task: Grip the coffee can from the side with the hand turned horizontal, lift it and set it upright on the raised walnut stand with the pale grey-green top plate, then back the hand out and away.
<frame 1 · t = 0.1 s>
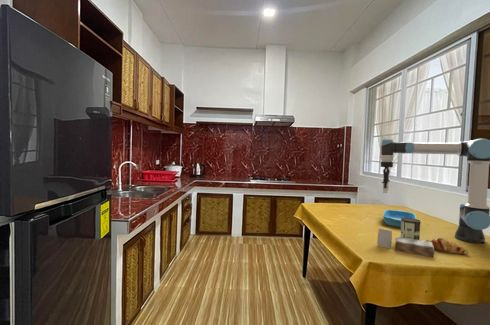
hand: (385, 191, 185), 28 cm above the table, tool pointing down, fingers open, 13 cm apart
croissant: (444, 251, 152), on the table
casserole dish: (398, 223, 211), on the table
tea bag: (384, 246, 156), on the table
coffee can: (409, 242, 165), on the table
stand: (413, 250, 150), on the table
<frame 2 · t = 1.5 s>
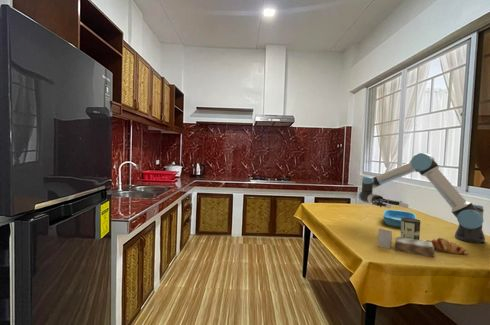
hand: (399, 206, 173), 20 cm above the table, tool horizontal, fingers open, 13 cm apart
nothing on the table moved.
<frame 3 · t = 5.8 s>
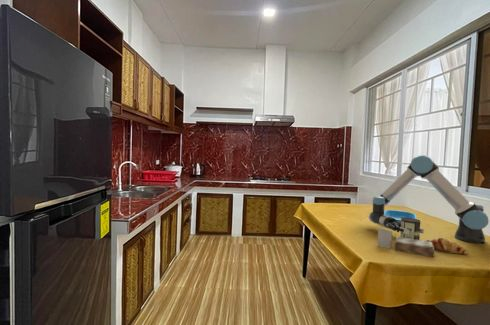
hand: (416, 231, 160), 8 cm above the table, tool horizontal, fingers closed on coffee can, 10 cm apart
coffee can: (409, 242, 165), on the table, touching gripper
everything else where it was.
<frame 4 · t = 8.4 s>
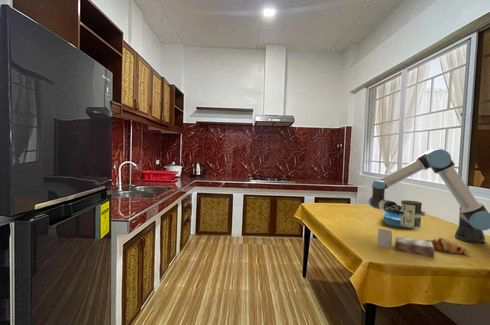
hand: (417, 214, 152), 20 cm above the table, tool horizontal, fingers closed on coffee can, 10 cm apart
coffee can: (410, 225, 156), point 12 cm above the table, touching gripper
everything else where it was.
when the fingers open (14 cm above the table, at t = 10.8 s): coffee can drops 1 cm, resting on stand.
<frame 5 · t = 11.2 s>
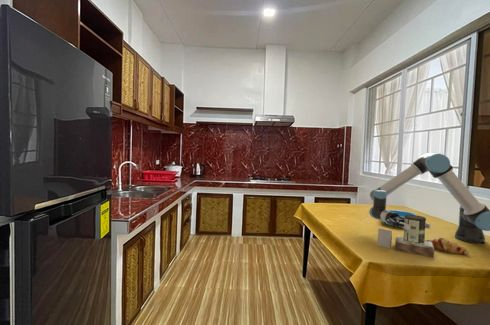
hand: (419, 227, 146), 14 cm above the table, tool horizontal, fingers open, 13 cm apart
coffee can: (413, 241, 150), point 5 cm above the table, touching stand
everything else where it was.
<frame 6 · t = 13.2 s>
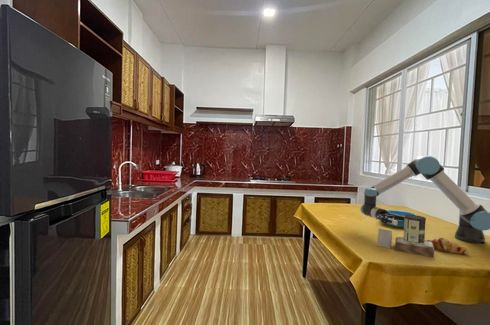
hand: (406, 222, 154), 15 cm above the table, tool horizontal, fingers open, 13 cm apart
nothing on the table moved.
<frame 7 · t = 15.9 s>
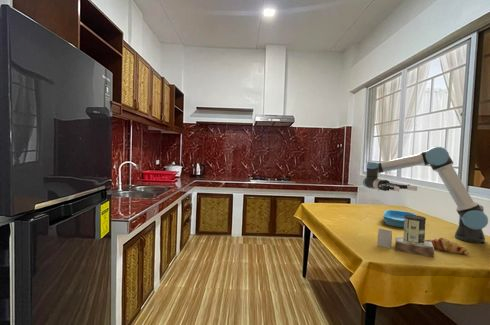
hand: (407, 189, 164), 33 cm above the table, tool horizontal, fingers open, 13 cm apart
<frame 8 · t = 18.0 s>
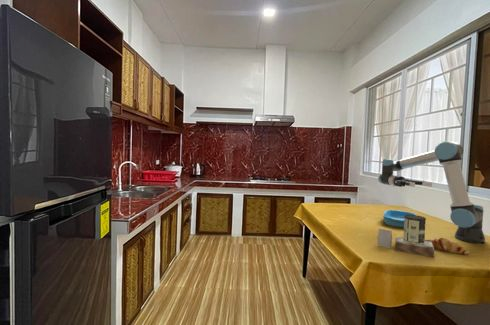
hand: (423, 184, 172), 35 cm above the table, tool horizontal, fingers open, 13 cm apart
at the end: coffee can inside the target area on the stand (0.1 cm from its centre), point 5.0 cm above the stand's base; coffee can tilted 0°; the gripper is holding nothing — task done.
